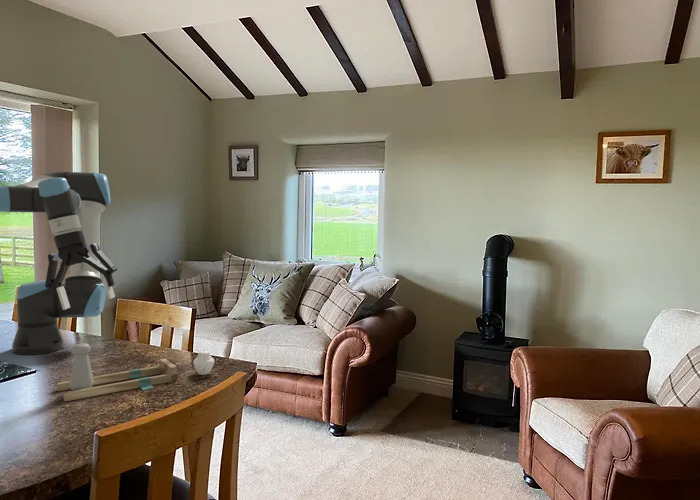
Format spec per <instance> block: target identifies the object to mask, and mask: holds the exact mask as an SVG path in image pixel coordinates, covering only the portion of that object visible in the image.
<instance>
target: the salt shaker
mask: <svg viewBox="0 0 700 500" xmlns="http://www.w3.org/2000/svg"><path fill="white" fill-rule="evenodd" d="M90 351H91V346H90V344H89V343H84V342H82V343H81V342H80V343H76V344H74V345H73V346H72V347H71V353H72V354H73V355H74V358H73V365H72V369H71V374H70V379H69V381H70V383H69V386H70V388H71V389H70V391H74V390H80V389H86V388H91V387H94V385H93V383H94V380H93V377H94V376H93V372H92V366H91V361H90V357H89V356H90V355H89V353H90Z"/></svg>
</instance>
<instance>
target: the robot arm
mask: <svg viewBox="0 0 700 500" xmlns="http://www.w3.org/2000/svg"><path fill="white" fill-rule="evenodd" d="M110 205H111V191H110V185H109V180H108V177H107V175H105V174H104V173H97V172H95V171H94V172H81V171H80V172H79V171H76V172H75V171H55V172H48V173H44V174H41V175H37V176H35V177H33V178H31V180H30V181H28V182H25V183H22V184H18V185H14V186H13V185H12V186H10V185H9V186H8V185H0V212H1V213H3V212H4V213H35V214H36V213H37V214H39V213H41V214H44V213H45V214H46V217H47V220H48V223H49V227H50V231H51V233H52V235H54V237H53V241H54V242H55V243H54V244H55V247H56V249H57V250H58V252H57V253H55V252H54V253H49V254H48V255H47V259H48V266H47V273H46V278H45V279H41V280H36V281H31V282H26V283H24V284H23V283H22V284H21V285H19V286H18V288H17V290H16V291H17V293H16V296H17V297H16V303H17V304H16V305H17V306H16V308H17V311H16V312H17V330H16V333H15V335H14V338H13V340H12V341H13V342H12V344H11V351H12V353H13V354H15V355H24V356H25V355H26V356H27V355H28V356H29V355H40V354H47V353H48V354H49V353H52V352H56V351H59V350H61V349H63V348H64V345H65V344H64V337H63V336H62V333H61V330H60V327H59V325H58V319H68V318H69V319H70V318H71V319H73V318H85V319H87V318H93V317H94V318H95V317H98V316H101V314H102V313H103V311H104V307H105V303H106V298H107V299H108V300H111V299H115V297H116V294H115V292H114V288H113V287H114V286H115V282H114V277H113V274H114V273H115V272H117V271H118V268H117V266H115V264H114V263H113V262H112V261H111V260H110V259H109V258H108V257H107V256H106V255H105V254H104V252H103V251H102V250H101V248H100V237H101V235H100V233H101V217H102V215H101V214H102V213H103V212H105V211H106V206H110ZM59 259H60V260H61V262H60V265H59V269H58V264H59V263H58V261H59ZM101 263H102V264H101ZM69 268H70V274H68V275H67V273H68V270H69ZM57 269H58V271H57ZM98 273H100V274H101V275H103V276H102V277H100V276H99V274H98ZM66 275H67V276H66ZM65 276H66V277H65ZM63 282H64V283H63Z"/></svg>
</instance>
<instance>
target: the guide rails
mask: <svg viewBox="0 0 700 500" xmlns="http://www.w3.org/2000/svg"><path fill="white" fill-rule="evenodd" d="M159 374H160V375H159ZM153 375H155V376H153ZM136 378H137V379H136ZM130 379H131V380H130ZM93 380H94V383H93V386H92V387H91V388H86V389H80V390H74V391H72V390H71V388H70V386H69V383H70V380H67V381H61V382H60V381H59V382H56V390H57V392H62V394H63V395H62V397H63V399H62V400H63V401H64V402H69V401H74V400H79V399H80V400H81V399H84V398H85V399H86V398H89V397H95V396H101V395H106V394H112V393H116V392H121V391H123V392H124V391H128V390H133V389H137V388H140V390H142V391H149V390H153V389H155V387H154V386H155V385H158V384H159V385H160V384H164V383H171V382H175V381H177V380H178V366H176V365H175V364H174V363H172V362H171V361H169V360H168V359H167V358H160V359H159V365H155V366H151V367H143V368H135V369H131V370H126V371H120V372H113V373H107V374H103V375H101V374H100V375H96V376H93ZM123 380H124V381H123ZM125 380H126V381H125ZM108 383H110V384H108ZM103 384H104V385H103ZM68 390H70V391H68Z"/></svg>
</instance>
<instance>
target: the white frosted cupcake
mask: <svg viewBox="0 0 700 500" xmlns="http://www.w3.org/2000/svg"><path fill="white" fill-rule="evenodd" d="M192 362H193V366H194V369H195V370H196V372H197V374H198V375H200V376H201V375H203V376H205V375H209V374H210V372H211V371H212V369H213V366H214V364H215V359H214V357H212V356H211V353H210V351H207V350H202V351H198V353H197V356H196V358H195V359H194V360H193V361H192Z"/></svg>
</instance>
